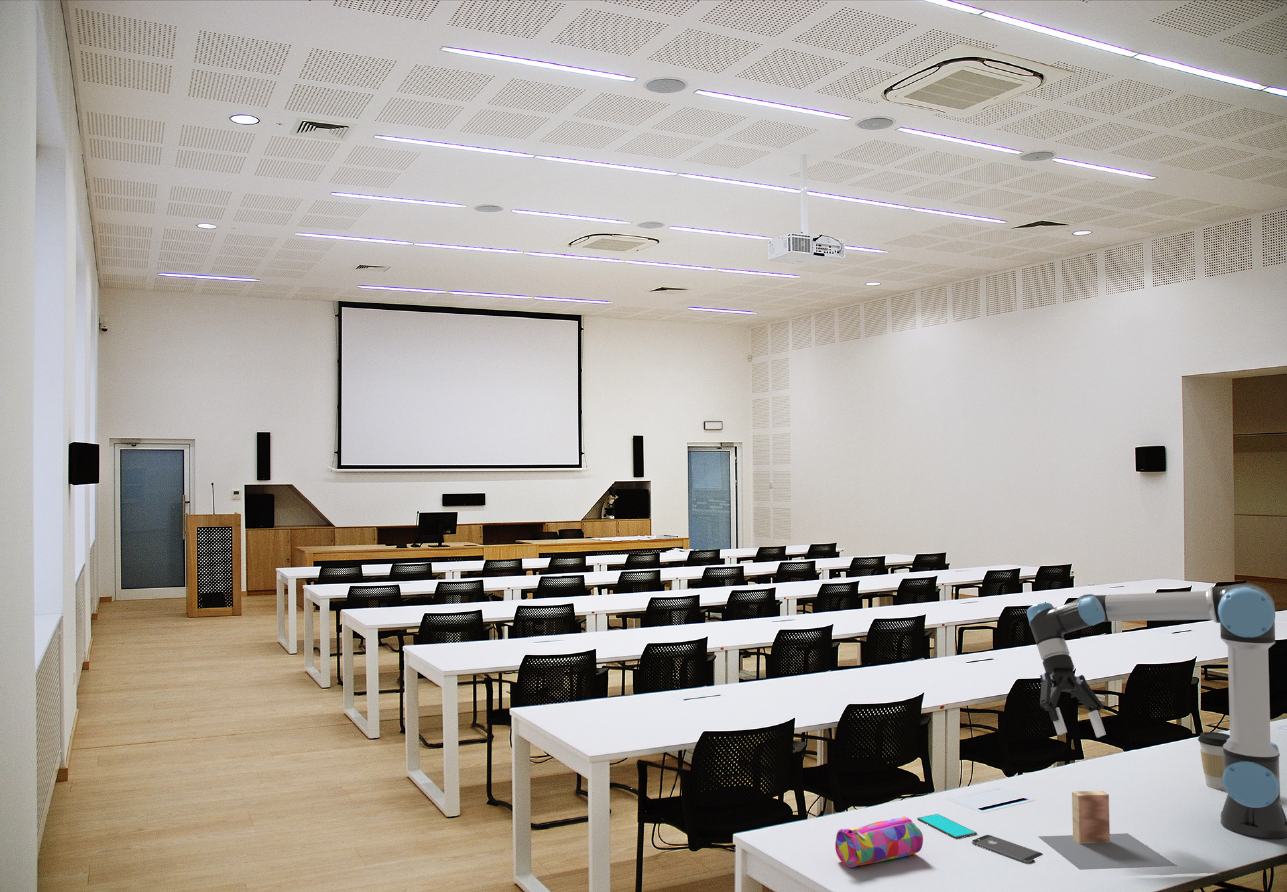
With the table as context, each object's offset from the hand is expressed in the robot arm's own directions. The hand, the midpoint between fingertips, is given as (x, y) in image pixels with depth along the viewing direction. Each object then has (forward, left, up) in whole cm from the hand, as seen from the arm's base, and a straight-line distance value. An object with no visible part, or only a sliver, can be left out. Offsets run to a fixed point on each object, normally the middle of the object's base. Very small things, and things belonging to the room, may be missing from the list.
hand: (1082, 734), depth 244 cm
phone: (+26, +11, -25) cm, 38 cm away
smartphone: (+35, -5, -25) cm, 44 cm away
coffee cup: (-58, -29, -25) cm, 69 cm away
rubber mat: (+3, +15, -25) cm, 29 cm away
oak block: (+3, +9, -24) cm, 26 cm away
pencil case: (+60, +14, -25) cm, 66 cm away
